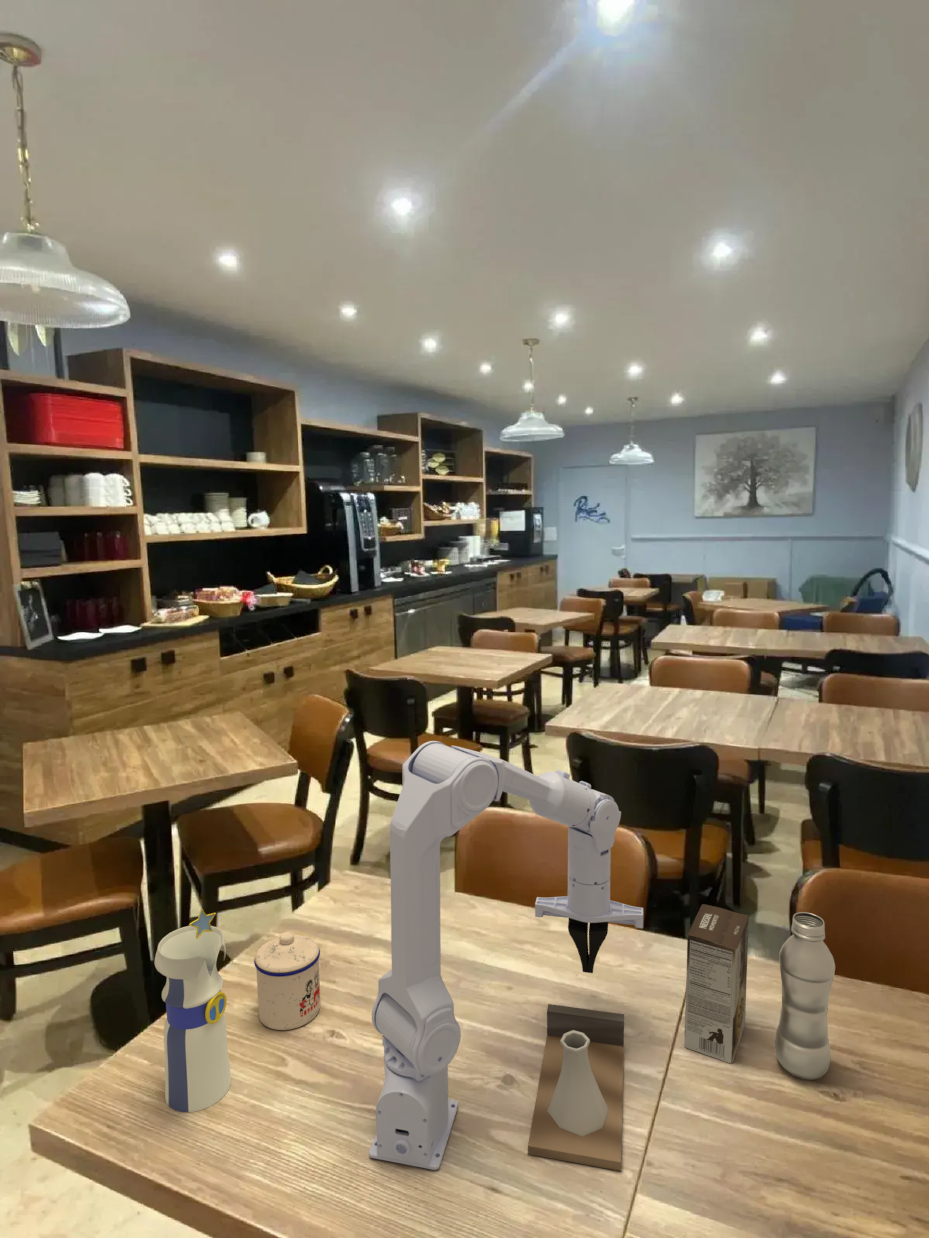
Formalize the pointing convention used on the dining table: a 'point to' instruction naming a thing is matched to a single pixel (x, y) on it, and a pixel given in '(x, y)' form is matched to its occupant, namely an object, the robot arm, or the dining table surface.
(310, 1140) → the dining table surface
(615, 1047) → the sliding board
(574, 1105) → the flask
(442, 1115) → the robot arm
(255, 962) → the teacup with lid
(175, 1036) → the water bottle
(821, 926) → the plastic bottle
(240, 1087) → the dining table surface
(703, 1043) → the coffee box
